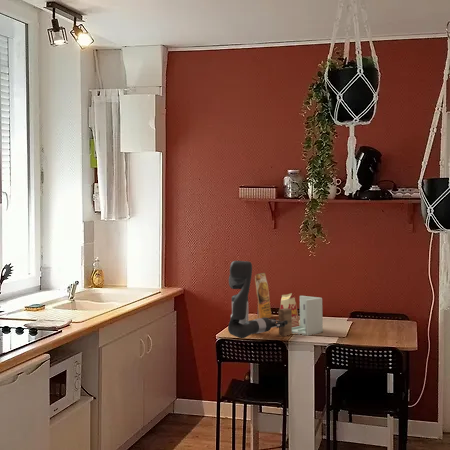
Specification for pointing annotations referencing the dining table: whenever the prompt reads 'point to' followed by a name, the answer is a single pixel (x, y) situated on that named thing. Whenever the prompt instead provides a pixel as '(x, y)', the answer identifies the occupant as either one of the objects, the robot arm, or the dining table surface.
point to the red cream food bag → (290, 303)
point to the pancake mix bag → (262, 296)
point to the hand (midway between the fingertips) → (281, 321)
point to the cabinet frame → (310, 316)
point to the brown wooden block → (284, 315)
